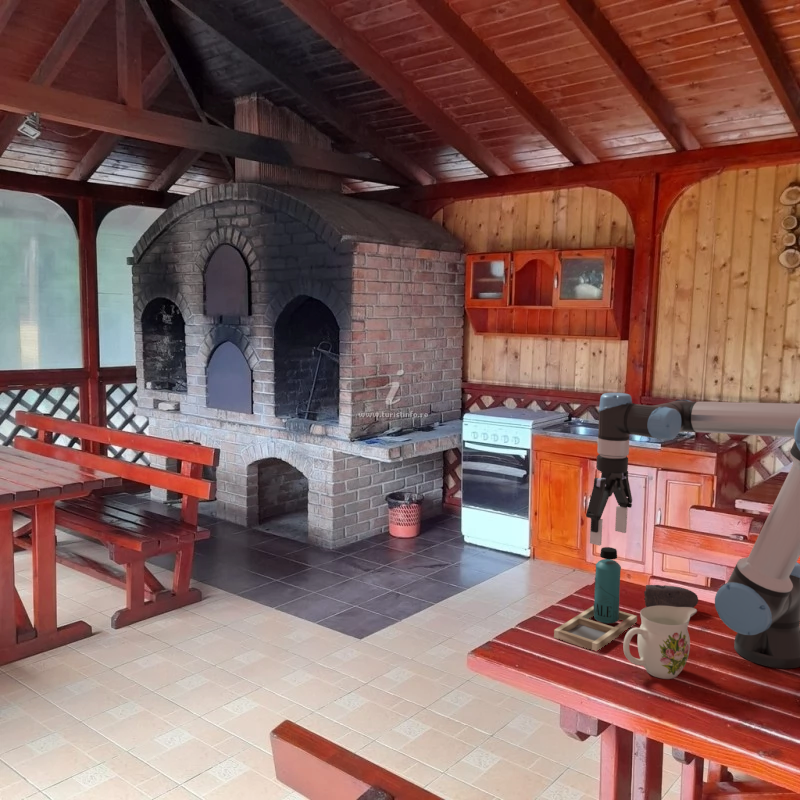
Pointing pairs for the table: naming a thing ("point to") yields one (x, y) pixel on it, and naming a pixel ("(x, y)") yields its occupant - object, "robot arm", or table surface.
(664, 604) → the perforated stone tool
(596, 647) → the bottle rack
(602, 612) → the beverage bottle
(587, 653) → the table surface
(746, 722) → the table surface
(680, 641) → the pitcher
